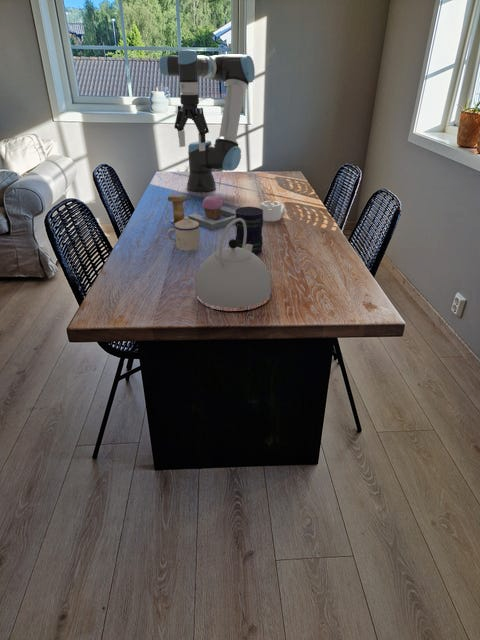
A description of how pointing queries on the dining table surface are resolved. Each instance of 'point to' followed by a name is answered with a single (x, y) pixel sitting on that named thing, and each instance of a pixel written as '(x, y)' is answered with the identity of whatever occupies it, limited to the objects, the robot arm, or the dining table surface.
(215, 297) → the kettle
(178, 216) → the bobbin
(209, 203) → the cupcake
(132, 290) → the dining table surface
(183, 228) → the teacup with lid
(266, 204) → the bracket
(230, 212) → the notched board
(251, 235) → the storage jar
